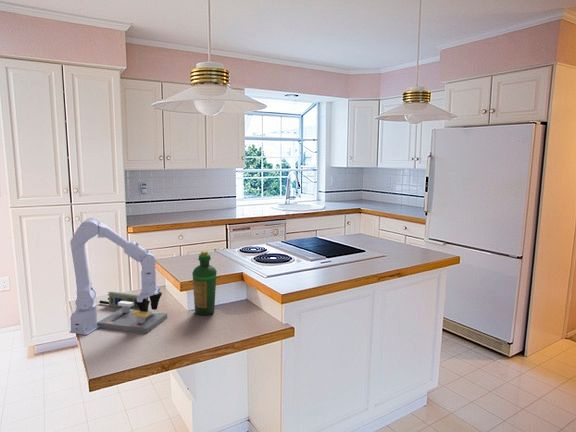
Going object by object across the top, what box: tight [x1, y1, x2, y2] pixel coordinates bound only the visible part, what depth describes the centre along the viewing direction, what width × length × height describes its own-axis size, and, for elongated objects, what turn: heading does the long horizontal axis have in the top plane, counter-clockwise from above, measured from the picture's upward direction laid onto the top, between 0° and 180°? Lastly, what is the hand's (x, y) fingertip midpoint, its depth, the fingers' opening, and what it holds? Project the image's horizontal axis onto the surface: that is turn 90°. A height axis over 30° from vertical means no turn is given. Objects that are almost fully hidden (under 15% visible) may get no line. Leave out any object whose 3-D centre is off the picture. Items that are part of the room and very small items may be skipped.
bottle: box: [192, 250, 218, 316], centre depth 177 cm, size 11×11×28 cm
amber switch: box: [132, 311, 149, 324], centre depth 161 cm, size 2×6×4 cm, turn 78°
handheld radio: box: [98, 291, 149, 310], centre depth 182 cm, size 7×3×25 cm
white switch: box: [118, 301, 134, 313], centre depth 171 cm, size 2×6×4 cm, turn 78°
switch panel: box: [97, 308, 168, 334], centre depth 167 cm, size 16×22×2 cm
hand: (149, 312), depth 167 cm, fingers open, 7 cm apart
